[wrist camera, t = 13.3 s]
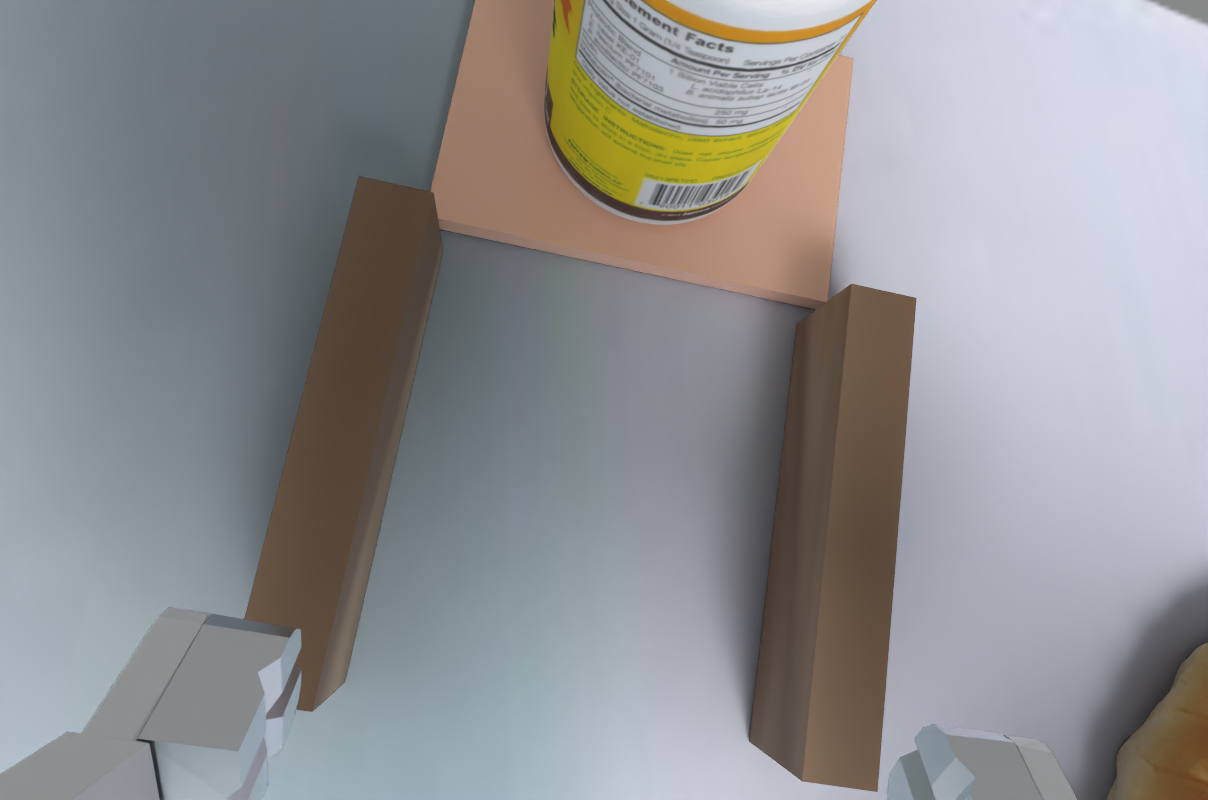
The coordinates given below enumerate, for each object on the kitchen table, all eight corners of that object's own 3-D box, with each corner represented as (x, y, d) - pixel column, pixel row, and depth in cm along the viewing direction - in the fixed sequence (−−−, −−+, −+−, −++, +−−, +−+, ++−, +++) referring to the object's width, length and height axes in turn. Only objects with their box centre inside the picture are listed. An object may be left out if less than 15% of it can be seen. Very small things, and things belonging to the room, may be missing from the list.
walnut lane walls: (272, 672, 16) (224, 699, 13) (380, 236, 18) (359, 176, 15) (811, 750, 17) (877, 791, 14) (852, 336, 19) (916, 298, 16)
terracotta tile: (427, 226, 18) (424, 215, 18) (483, -18, 20) (483, -36, 19) (817, 309, 19) (827, 302, 19) (843, 72, 21) (853, 58, 20)
